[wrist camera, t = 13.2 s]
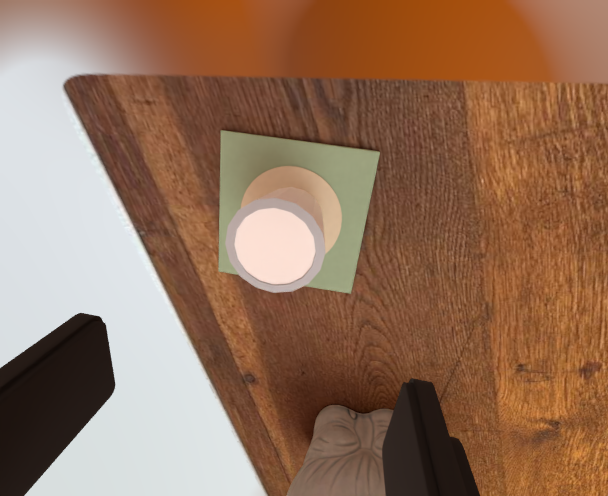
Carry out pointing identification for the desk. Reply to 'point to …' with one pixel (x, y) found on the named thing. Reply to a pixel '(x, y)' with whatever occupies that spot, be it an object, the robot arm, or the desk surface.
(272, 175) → the mat
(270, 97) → the desk surface
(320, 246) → the shot glass
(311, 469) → the teapot
